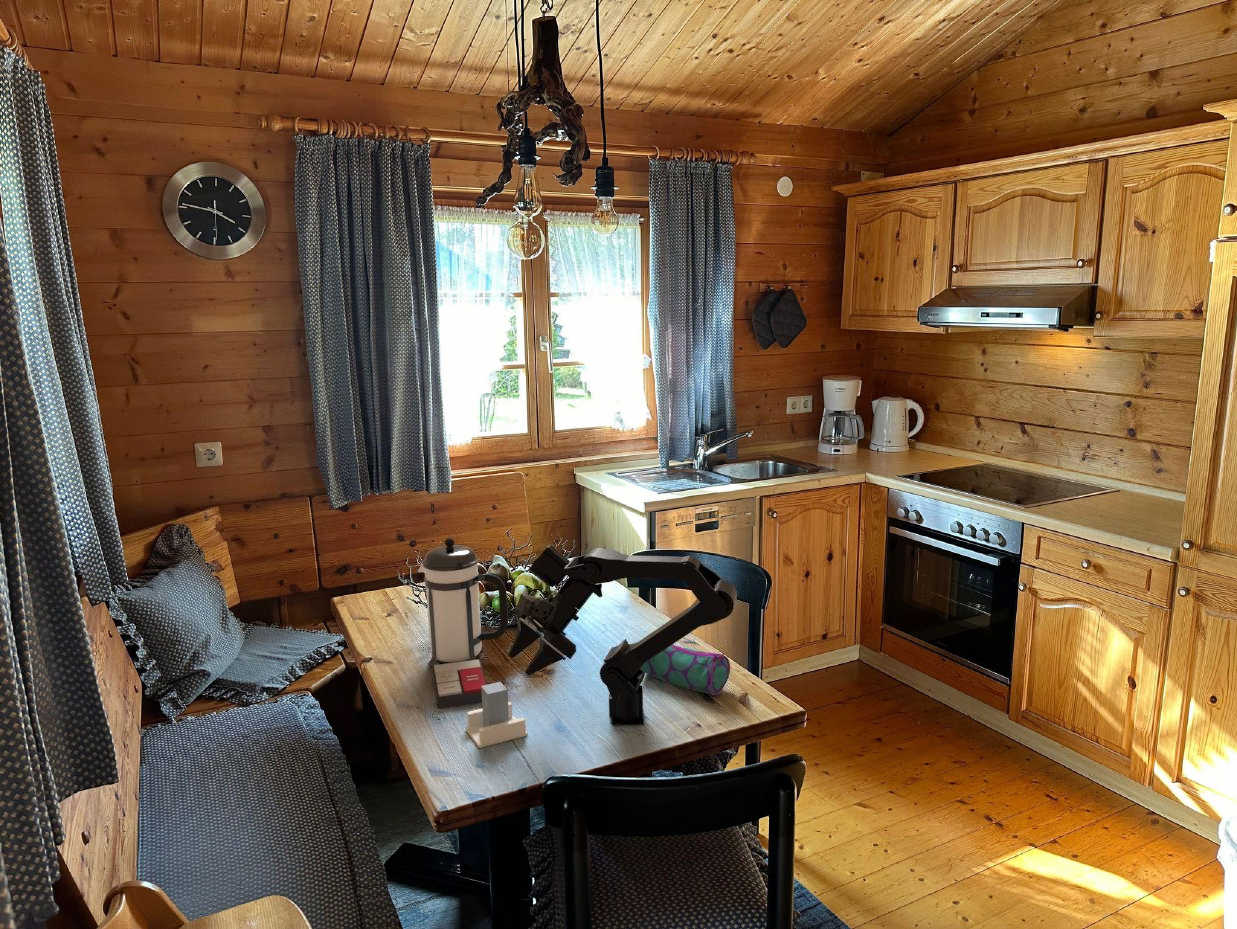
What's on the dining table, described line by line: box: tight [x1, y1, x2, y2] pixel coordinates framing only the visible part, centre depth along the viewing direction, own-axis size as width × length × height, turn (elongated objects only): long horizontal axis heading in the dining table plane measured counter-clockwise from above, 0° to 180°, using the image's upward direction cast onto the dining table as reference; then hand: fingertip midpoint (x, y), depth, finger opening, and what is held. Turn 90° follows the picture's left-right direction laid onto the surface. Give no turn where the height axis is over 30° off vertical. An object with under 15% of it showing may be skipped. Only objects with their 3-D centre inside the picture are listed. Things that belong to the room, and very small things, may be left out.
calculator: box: [431, 659, 488, 710], centre depth 192 cm, size 11×4×15 cm
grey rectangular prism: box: [481, 681, 509, 727], centre depth 173 cm, size 4×4×9 cm
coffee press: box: [417, 537, 509, 669], centre depth 206 cm, size 17×16×30 cm
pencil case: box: [641, 644, 731, 697], centre depth 193 cm, size 21×9×10 cm, turn 51°
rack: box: [465, 701, 529, 749], centre depth 173 cm, size 10×9×4 cm
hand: (518, 665), depth 172 cm, fingers open, 9 cm apart
